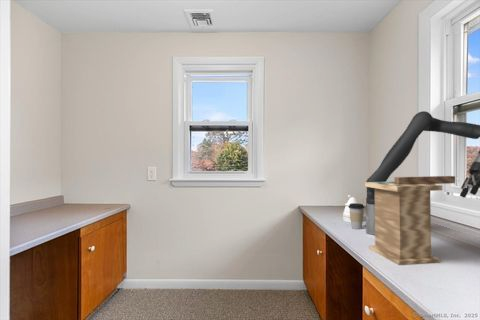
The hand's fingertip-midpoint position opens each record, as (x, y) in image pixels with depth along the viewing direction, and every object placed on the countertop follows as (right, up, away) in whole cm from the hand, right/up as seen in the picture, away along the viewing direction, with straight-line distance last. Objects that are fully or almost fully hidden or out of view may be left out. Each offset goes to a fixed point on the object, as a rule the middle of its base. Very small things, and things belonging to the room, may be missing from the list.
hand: (467, 195), depth 134 cm
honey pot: (-24, -27, +72) cm, 81 cm away
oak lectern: (-31, -27, -2) cm, 41 cm away
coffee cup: (-30, -27, +50) cm, 64 cm away
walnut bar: (-24, +6, -7) cm, 25 cm away
